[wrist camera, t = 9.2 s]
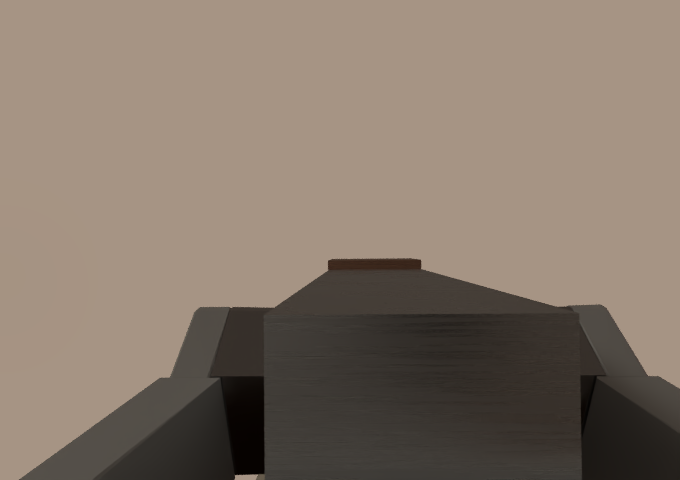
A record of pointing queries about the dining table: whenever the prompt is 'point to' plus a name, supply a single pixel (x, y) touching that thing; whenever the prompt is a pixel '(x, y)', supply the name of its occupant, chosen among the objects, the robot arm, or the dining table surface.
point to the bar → (419, 380)
